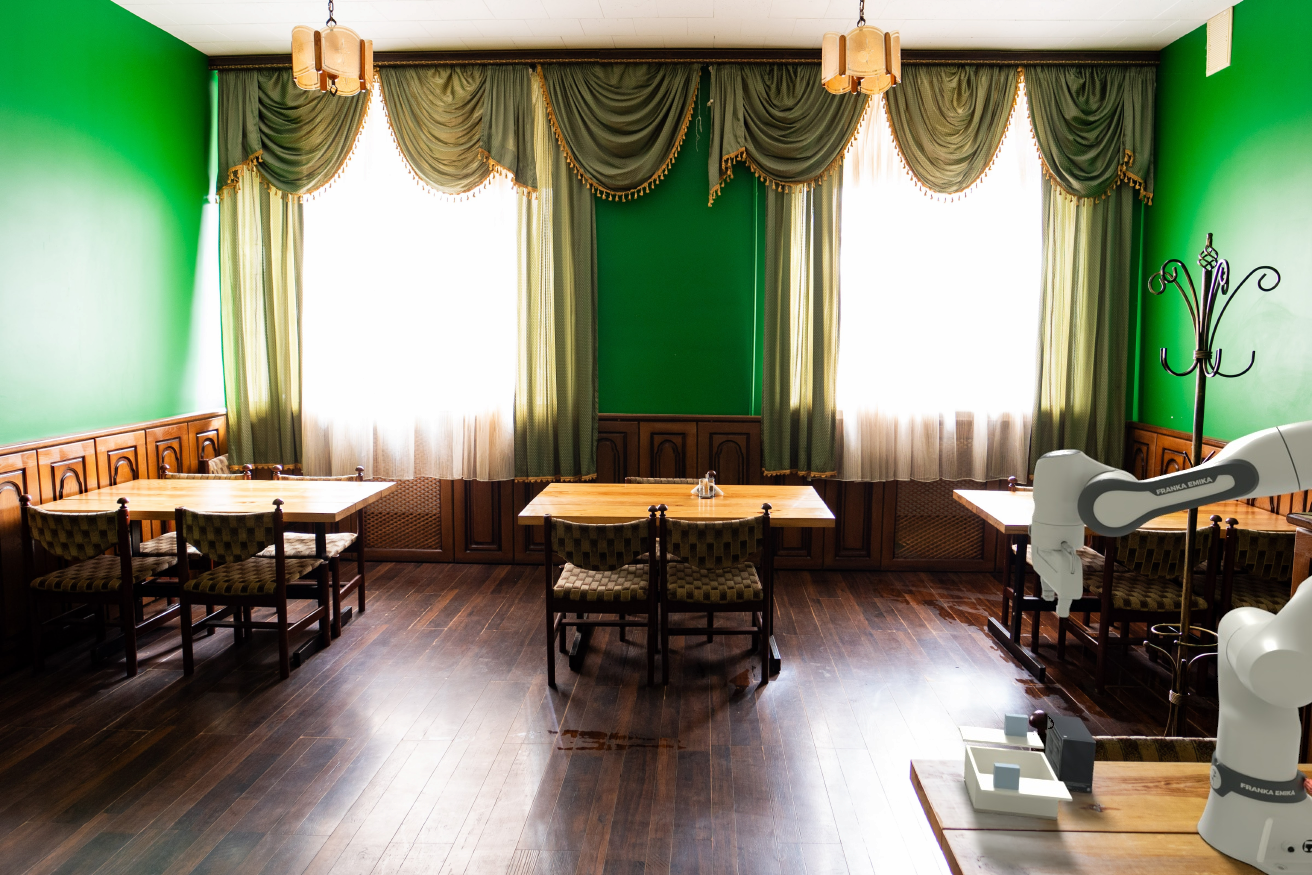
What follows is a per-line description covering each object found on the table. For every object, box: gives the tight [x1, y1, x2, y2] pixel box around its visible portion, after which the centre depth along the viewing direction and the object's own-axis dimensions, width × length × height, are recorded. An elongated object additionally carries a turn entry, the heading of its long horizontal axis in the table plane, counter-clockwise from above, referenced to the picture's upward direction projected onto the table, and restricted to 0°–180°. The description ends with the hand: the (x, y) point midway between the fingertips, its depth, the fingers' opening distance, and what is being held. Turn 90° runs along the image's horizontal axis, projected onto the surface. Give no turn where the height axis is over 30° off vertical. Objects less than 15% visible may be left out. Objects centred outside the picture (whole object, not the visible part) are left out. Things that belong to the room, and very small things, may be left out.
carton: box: [963, 744, 1060, 821], centre depth 152 cm, size 14×11×7 cm
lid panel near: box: [975, 763, 1073, 802], centre depth 142 cm, size 15×5×4 cm, turn 79°
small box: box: [1044, 713, 1097, 794], centre depth 159 cm, size 11×6×10 cm, turn 168°
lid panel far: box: [958, 712, 1045, 750], centre depth 160 cm, size 15×5×4 cm, turn 79°
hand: (1055, 607), depth 154 cm, fingers open, 8 cm apart
